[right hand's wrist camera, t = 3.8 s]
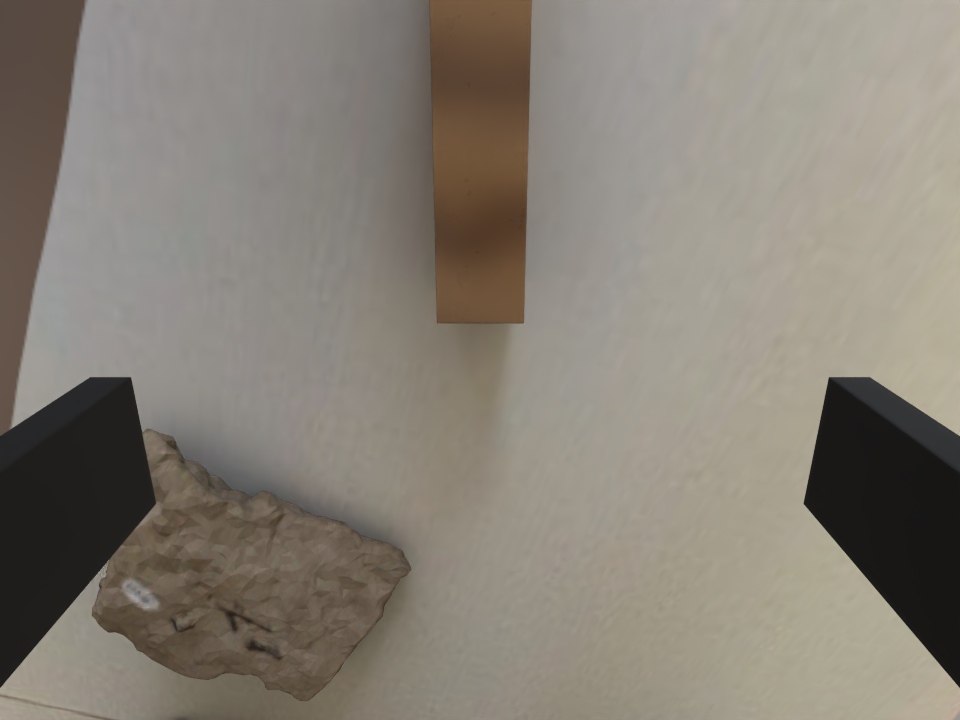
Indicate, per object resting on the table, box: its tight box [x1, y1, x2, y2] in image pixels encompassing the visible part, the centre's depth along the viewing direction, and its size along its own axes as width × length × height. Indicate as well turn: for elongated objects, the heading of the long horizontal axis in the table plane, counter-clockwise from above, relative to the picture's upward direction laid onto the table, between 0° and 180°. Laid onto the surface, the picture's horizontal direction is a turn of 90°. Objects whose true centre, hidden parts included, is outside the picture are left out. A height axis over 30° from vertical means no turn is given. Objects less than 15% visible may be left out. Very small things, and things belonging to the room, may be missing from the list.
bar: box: [429, 0, 532, 323], centre depth 34 cm, size 22×5×8 cm, turn 0°
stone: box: [92, 429, 411, 701], centre depth 46 cm, size 21×15×6 cm
